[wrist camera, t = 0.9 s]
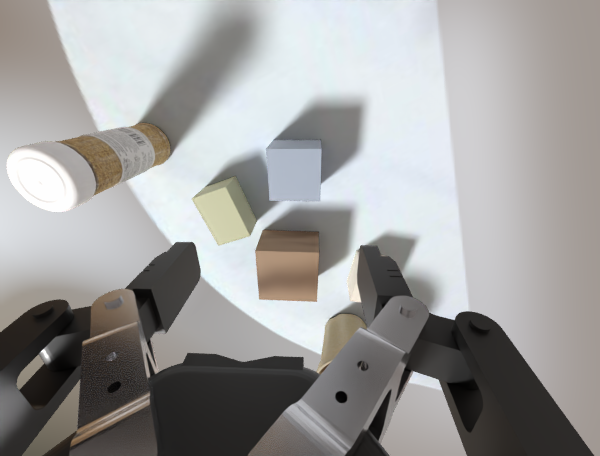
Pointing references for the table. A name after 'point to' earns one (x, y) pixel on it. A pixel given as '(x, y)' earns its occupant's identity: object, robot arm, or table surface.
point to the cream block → (354, 280)
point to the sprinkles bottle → (84, 164)
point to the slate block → (294, 170)
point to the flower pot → (338, 337)
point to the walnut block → (288, 265)
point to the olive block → (225, 211)
